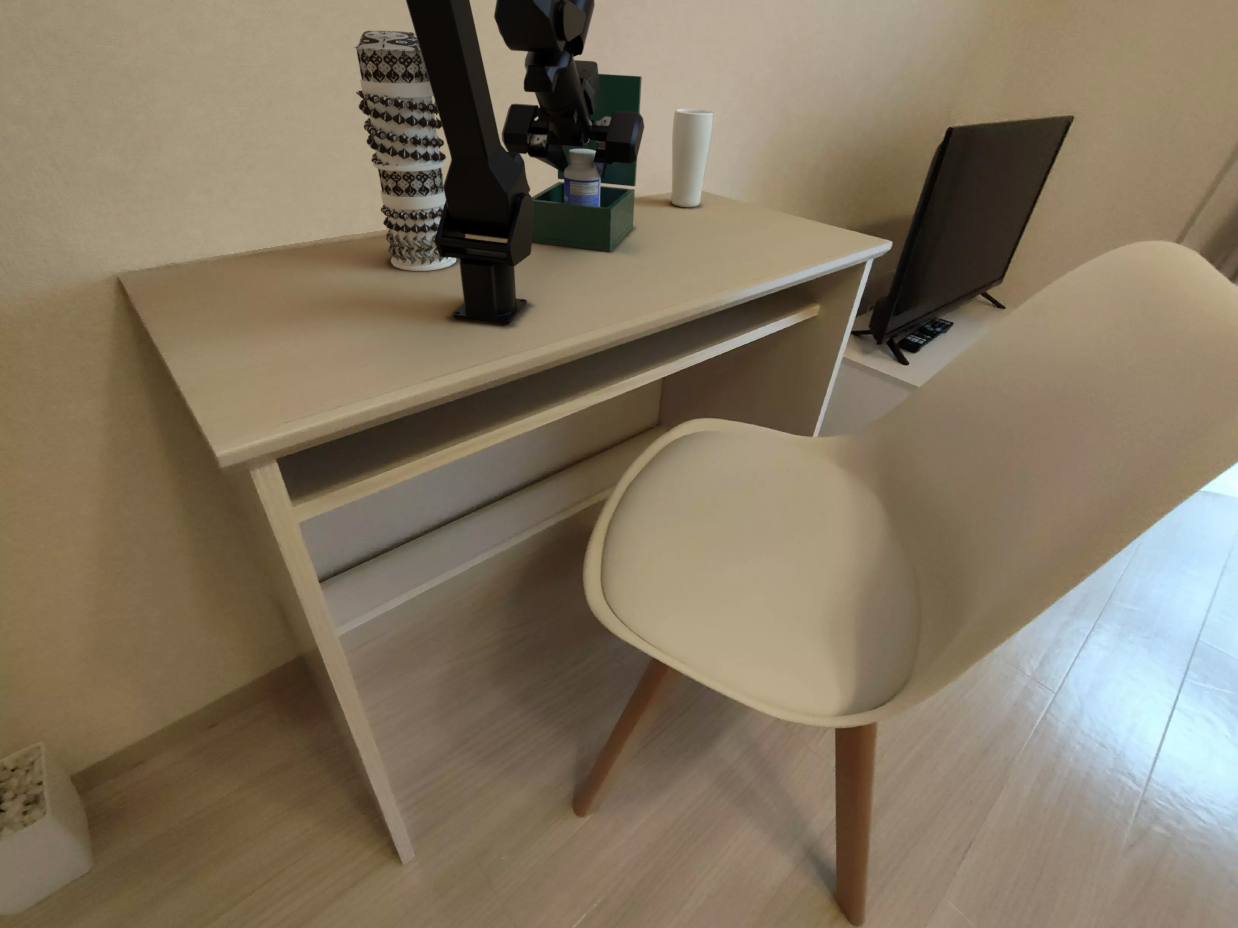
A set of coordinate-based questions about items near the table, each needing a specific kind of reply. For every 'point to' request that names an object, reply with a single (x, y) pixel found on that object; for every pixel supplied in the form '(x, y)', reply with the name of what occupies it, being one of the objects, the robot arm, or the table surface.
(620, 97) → the green box lid
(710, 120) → the white tumbler
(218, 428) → the table surface
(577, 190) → the pill bottle
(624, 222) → the green open box
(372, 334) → the table surface
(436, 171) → the black and white cylinder
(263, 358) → the table surface
